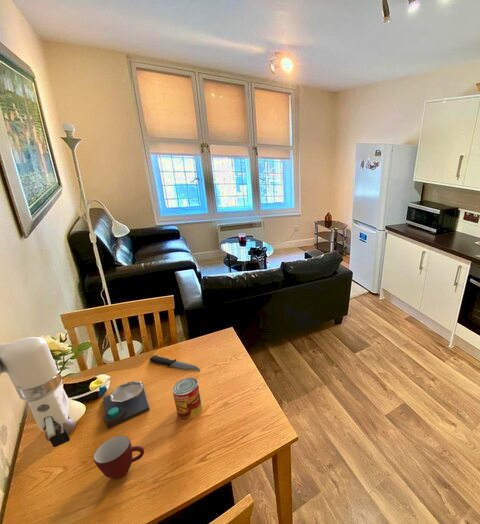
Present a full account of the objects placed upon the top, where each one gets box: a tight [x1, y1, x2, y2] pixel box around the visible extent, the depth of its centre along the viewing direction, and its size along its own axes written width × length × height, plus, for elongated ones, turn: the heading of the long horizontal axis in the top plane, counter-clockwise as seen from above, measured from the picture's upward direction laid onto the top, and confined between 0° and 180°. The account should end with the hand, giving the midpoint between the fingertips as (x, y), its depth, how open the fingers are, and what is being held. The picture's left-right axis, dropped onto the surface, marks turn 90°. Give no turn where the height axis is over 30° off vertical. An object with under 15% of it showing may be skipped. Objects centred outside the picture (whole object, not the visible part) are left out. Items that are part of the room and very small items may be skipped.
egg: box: [44, 418, 77, 442], centre depth 78 cm, size 6×6×4 cm
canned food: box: [171, 376, 203, 421], centre depth 102 cm, size 8×8×12 cm
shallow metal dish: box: [109, 380, 144, 404], centre depth 106 cm, size 10×10×1 cm
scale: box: [103, 382, 151, 430], centre depth 104 cm, size 12×15×3 cm
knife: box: [149, 354, 201, 373], centre depth 124 cm, size 25×2×5 cm
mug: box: [93, 435, 145, 480], centre depth 83 cm, size 10×8×10 cm
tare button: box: [108, 407, 119, 418], centre depth 98 cm, size 3×3×2 cm
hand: (62, 433), depth 78 cm, fingers closed on egg, 6 cm apart
